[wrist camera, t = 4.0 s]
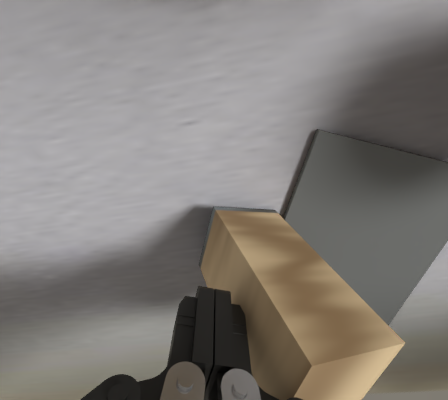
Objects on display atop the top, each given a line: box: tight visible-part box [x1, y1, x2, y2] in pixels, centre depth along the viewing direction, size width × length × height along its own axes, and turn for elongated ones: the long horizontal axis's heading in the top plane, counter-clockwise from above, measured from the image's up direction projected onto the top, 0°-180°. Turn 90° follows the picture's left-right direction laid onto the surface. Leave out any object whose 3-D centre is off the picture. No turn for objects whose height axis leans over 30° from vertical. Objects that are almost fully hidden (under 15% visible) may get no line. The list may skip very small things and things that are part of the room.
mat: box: [283, 129, 448, 325], centre depth 20 cm, size 12×16×1 cm
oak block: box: [199, 207, 405, 400], centre depth 14 cm, size 4×4×10 cm
